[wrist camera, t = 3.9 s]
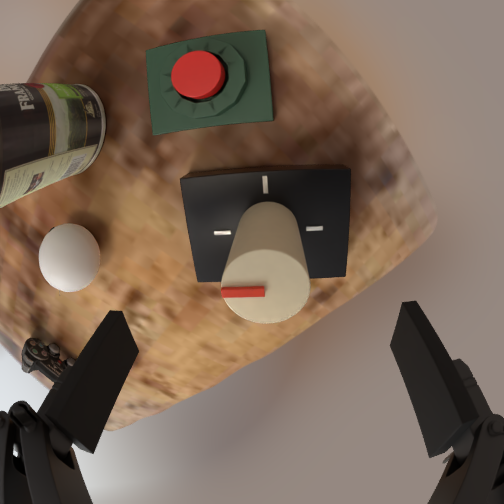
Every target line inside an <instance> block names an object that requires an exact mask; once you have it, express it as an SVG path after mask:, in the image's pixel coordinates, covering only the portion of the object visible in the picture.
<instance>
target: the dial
mask: <svg viewBox="0 0 504 504" xmlns="http://www.w3.org/2000/svg"><path fill="white" fill-rule="evenodd" d="M221 294H222V298H224V299H225V301H226V303H227V305H228V306H229V307H230V308H231V309H232V310H233V311H234V312H235V313H236V314H237V315H239V316H241V317H242V318H244V319H246V320H249V321H252V322H256V323H276V322H280V321H284V320H286V319H288V318H290V317H292V316H294V315H295V314H296V313H298V312H299V311H300V310H301V309H302V307H303V306H304V305H305V303H306V302H307V299H308V297H309V294H310V278H309V274H308V269H307V264H306V260H305V255H304V251H303V246H302V242H301V237H300V233H299V229H298V224H297V221H296V218H295V216H294V215H293V213H292V212H291V211H290V210H289V209H288V208H286V207H285V206H283V205H281V204H279V203H275V202H261V203H258V204H255V205H253V206H251V207H250V208H249V209H247V210H246V211H245V213H244V214H243V215H242V217H241V219H240V222H239V225H238V228H237V231H236V235H235V238H234V241H233V244H232V247H231V250H230V254H229V257H228V260H227V263H226V266H225V270H224V273H223V276H222V281H221Z"/></svg>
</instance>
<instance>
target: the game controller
mask: <svg viewBox="0 0 504 504" xmlns="http://www.w3.org/2000/svg"><path fill="white" fill-rule="evenodd" d="M59 352H60V349H59V347H58V346H57V345H55V344H53V343H52V344H49V345H48V346H46V345H45V344H44V343H43V342H41V341H40V340H38V339H36V338H29V339H27V340H26V342H25V344H24V347H23V350H22V370H23V371H24V372H26V373H30V372H32V371H34V370H39V371H40V372H41V373H43V374H44V375H45V376H46V377H47V378H49V379H50V380H51V381H52V382H54V383H55V382H56V380H57V378H58V377H59V375H60V374H61V372H62V371H63V370H64V369H66V368H67V367H68V366H69V365H70V366H73V364H74V363H75V360H74V359H72V358H68V359H67V360H64V361H61V360H60V359H59V356H60V353H59Z"/></svg>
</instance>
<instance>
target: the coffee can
mask: <svg viewBox="0 0 504 504" xmlns="http://www.w3.org/2000/svg"><path fill="white" fill-rule="evenodd" d="M105 129H106V119H105V112H104V107H103V104H102V102H101V100H100V98H99V97H98V95H97V94H96V93H95V92H94V91H93V90H92V89H91V88H89V87H88V86H86V85H82V84H51V83H22V84H2V85H0V208H1V207H3V206H5V205H7V204H9V203H11V202H13V201H15V200H17V199H19V198H21V197H23V196H25V195H28V194H30V193H32V192H34V191H36V190H39V189H41V188H43V187H45V186H48V185H50V184H52V183H55V182H57V181H59V180H62V179H64V178H67V177H69V176H72V175H76V174H79V173H81V172H83V171H84V170H86V169H87V168H88V167H89V166H90V165H91V164H92V163H93V162H94V160H95V159H96V157H97V156H98V154H99V152H100V149H101V147H102V144H103V140H104V136H105Z"/></svg>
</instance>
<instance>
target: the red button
mask: <svg viewBox="0 0 504 504" xmlns="http://www.w3.org/2000/svg"><path fill="white" fill-rule="evenodd" d="M171 80H172V84H173V86H174V88H175V89H176V90H177V91H178V92H179V93H180V94H182V95H184V96H187V97H191V98H194V99H204V98H208V97H210V96H212V95H214V94H215V93H217V92H218V91H219V90H220V88H221V87H222V85H223V83H224V80H225V70H224V67H223V65H222V64H221V62H220V61H219V60H218V59H217V58H216V57H215V56H214V55H213V54H211V53H209V52H206V51H192V52H189V53H187V54H185V55H183V56H182V57H181V58H179V59H178V61H177V62H176V63H175V65H174V67H173V69H172V73H171Z"/></svg>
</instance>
